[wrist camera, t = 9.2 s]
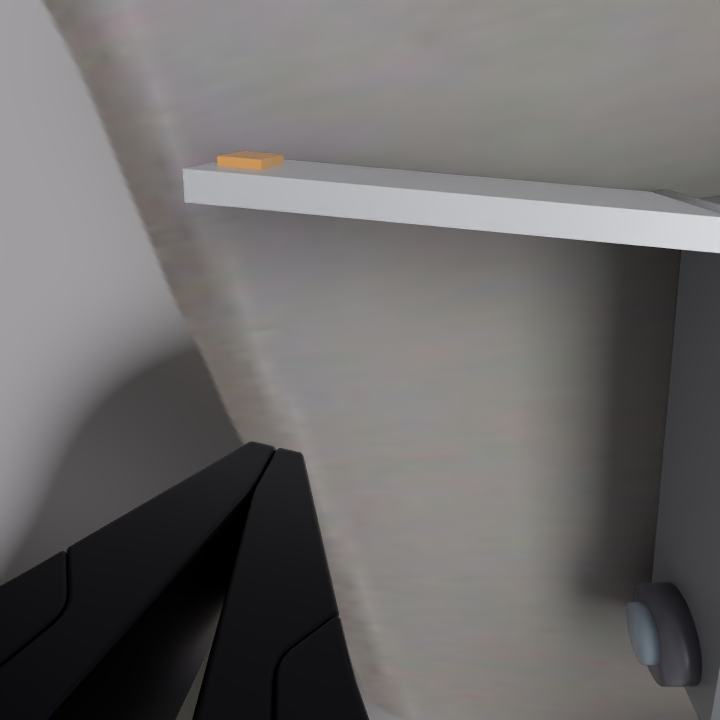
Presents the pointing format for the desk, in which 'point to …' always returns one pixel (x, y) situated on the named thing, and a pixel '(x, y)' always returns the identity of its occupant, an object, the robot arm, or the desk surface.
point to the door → (456, 201)
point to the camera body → (688, 503)
